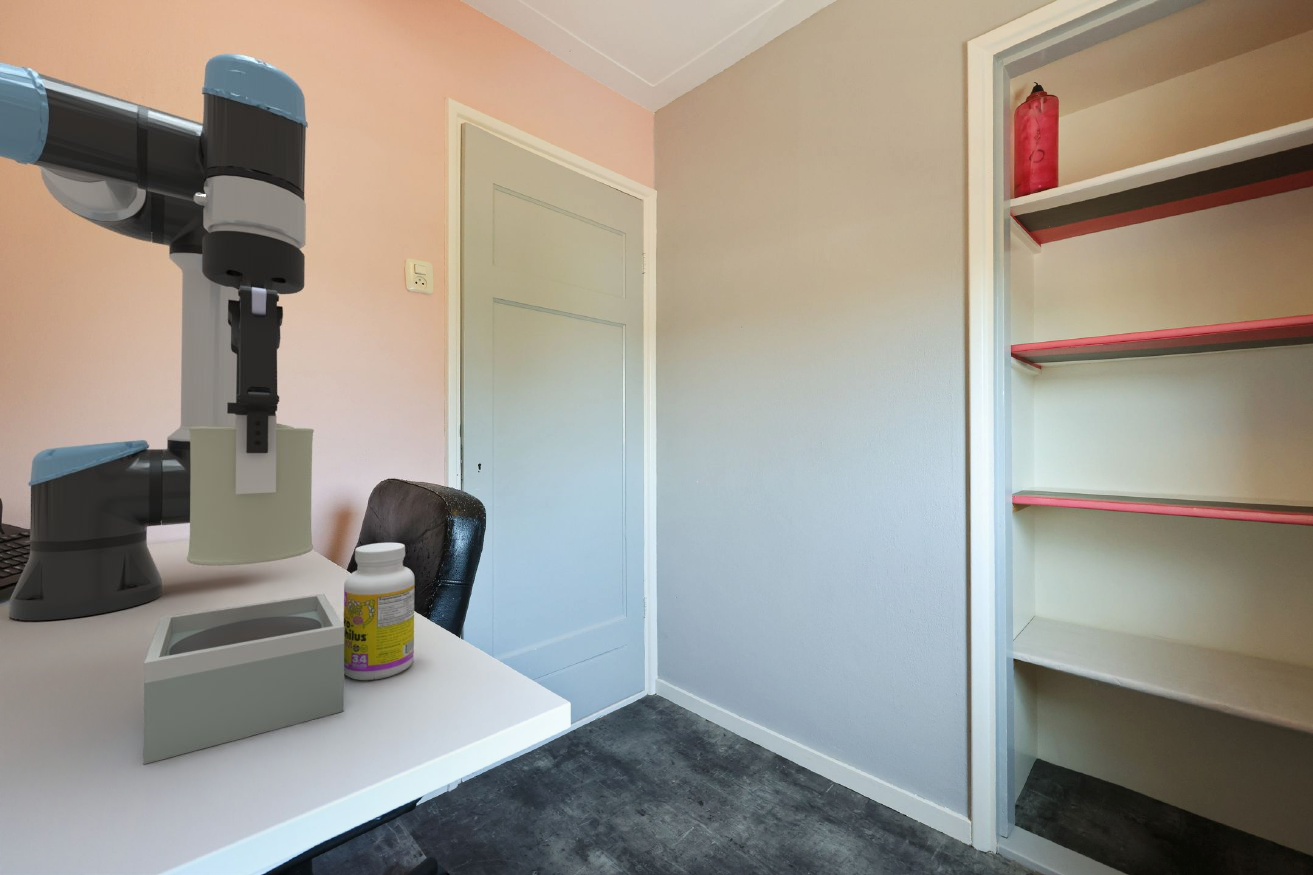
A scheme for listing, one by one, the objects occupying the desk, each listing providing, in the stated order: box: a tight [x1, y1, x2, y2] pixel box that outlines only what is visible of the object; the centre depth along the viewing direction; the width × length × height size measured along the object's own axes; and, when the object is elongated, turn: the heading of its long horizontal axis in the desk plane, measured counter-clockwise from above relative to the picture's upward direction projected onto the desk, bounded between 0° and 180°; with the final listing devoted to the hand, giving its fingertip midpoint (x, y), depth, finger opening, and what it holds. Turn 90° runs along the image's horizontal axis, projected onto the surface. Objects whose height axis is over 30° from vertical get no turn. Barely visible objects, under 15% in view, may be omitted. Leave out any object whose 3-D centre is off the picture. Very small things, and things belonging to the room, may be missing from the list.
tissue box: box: [142, 592, 345, 765], centre depth 49 cm, size 13×13×8 cm
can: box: [186, 422, 314, 567], centre depth 50 cm, size 9×9×12 cm
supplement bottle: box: [343, 542, 416, 681], centre depth 57 cm, size 7×7×13 cm
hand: (253, 488), depth 50 cm, fingers closed on can, 9 cm apart
